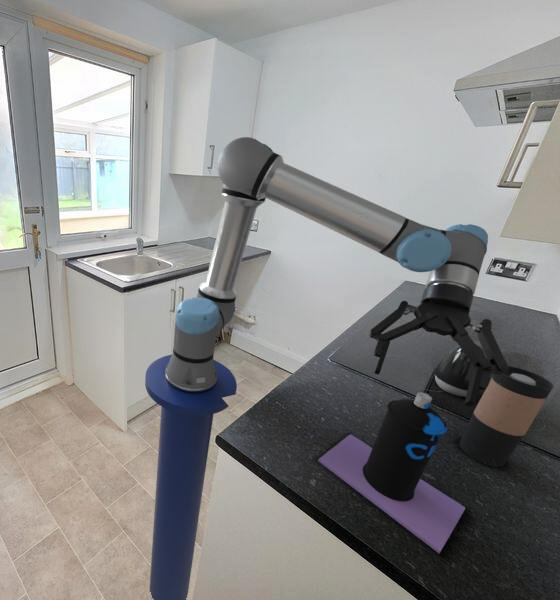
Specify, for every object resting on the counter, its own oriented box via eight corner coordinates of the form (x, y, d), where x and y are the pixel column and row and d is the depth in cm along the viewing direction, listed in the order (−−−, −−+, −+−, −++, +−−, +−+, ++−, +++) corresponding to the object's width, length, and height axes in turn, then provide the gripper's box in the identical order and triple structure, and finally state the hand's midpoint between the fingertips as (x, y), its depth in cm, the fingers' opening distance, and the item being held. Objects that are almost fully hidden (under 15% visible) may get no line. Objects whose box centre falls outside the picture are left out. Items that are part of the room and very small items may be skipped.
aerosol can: (352, 469, 61) (384, 386, 54) (380, 458, 64) (413, 377, 57) (395, 508, 54) (438, 418, 47) (424, 493, 57) (468, 406, 50)
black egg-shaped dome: (426, 389, 89) (447, 342, 84) (432, 375, 96) (451, 331, 90) (475, 407, 82) (500, 358, 77) (477, 392, 89) (501, 345, 83)
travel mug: (452, 434, 73) (489, 361, 65) (495, 447, 70) (539, 372, 62) (465, 458, 66) (508, 380, 59) (513, 474, 63) (565, 393, 56)
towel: (318, 461, 64) (318, 458, 63) (349, 435, 71) (350, 433, 70) (439, 553, 48) (440, 551, 48) (464, 510, 55) (465, 507, 55)
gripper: (527, 318, 59) (506, 423, 53) (374, 286, 73) (344, 366, 68) (550, 299, 53) (528, 415, 47) (378, 269, 67) (346, 354, 62)
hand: (420, 387), depth 58 cm, fingers open, 13 cm apart
